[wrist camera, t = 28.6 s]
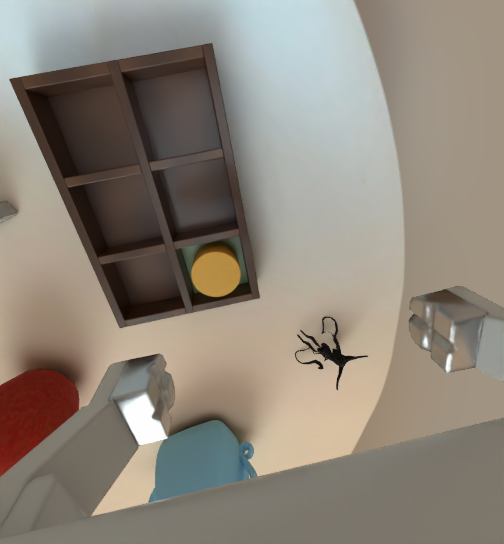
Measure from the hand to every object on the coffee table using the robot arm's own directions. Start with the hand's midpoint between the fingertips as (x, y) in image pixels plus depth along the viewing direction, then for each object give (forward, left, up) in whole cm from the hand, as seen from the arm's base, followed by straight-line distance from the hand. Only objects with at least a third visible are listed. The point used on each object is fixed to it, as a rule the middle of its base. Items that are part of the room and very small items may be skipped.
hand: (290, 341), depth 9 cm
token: (+4, +5, -22) cm, 23 cm away
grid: (+7, -2, -23) cm, 24 cm away
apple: (+27, +17, -23) cm, 40 cm away
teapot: (+13, +35, -23) cm, 44 cm away
